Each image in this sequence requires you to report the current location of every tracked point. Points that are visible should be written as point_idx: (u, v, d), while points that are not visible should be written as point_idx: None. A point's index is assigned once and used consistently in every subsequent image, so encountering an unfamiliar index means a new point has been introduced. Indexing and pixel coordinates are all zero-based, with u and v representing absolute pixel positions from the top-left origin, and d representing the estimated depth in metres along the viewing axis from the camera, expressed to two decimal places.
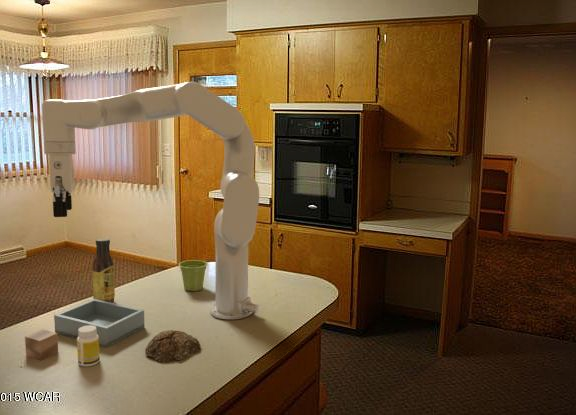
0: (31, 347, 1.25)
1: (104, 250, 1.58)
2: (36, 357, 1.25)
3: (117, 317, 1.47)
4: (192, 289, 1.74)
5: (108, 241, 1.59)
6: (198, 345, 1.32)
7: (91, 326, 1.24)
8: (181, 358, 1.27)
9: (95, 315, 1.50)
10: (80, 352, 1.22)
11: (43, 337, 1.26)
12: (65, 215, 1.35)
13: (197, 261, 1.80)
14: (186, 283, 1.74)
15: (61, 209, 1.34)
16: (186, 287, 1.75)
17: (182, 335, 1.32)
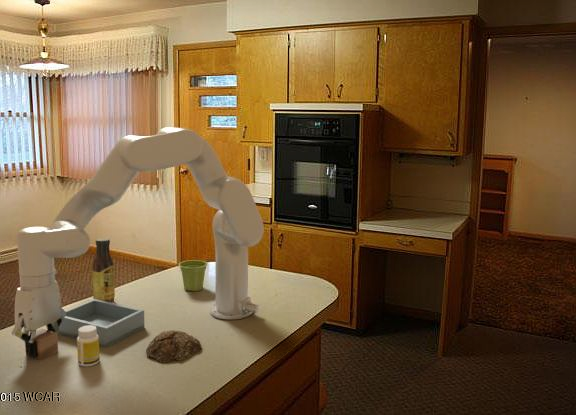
0: None
1: (104, 250, 1.58)
2: (36, 357, 1.25)
3: (117, 317, 1.47)
4: (192, 289, 1.74)
5: (108, 241, 1.59)
6: (199, 346, 1.32)
7: (91, 326, 1.24)
8: (182, 359, 1.27)
9: (95, 315, 1.50)
10: (80, 352, 1.22)
11: (43, 337, 1.26)
12: None
13: (197, 261, 1.80)
14: (186, 283, 1.74)
15: None
16: (186, 287, 1.75)
17: (183, 335, 1.32)
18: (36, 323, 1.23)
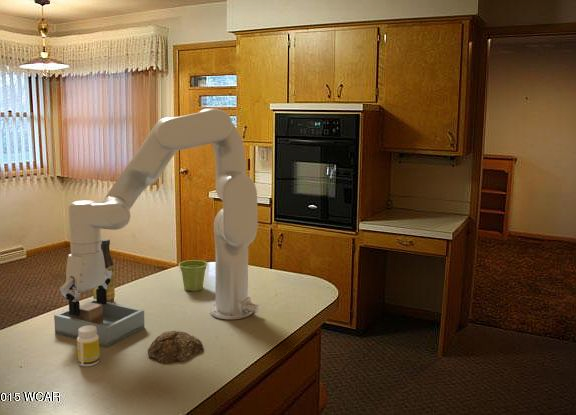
0: (81, 317, 1.41)
1: (105, 250, 1.58)
2: None
3: (117, 317, 1.47)
4: (192, 289, 1.74)
5: (108, 241, 1.59)
6: (201, 346, 1.32)
7: (91, 326, 1.24)
8: (184, 359, 1.26)
9: None
10: (80, 352, 1.22)
11: (91, 308, 1.42)
12: None
13: (197, 261, 1.80)
14: (186, 283, 1.74)
15: None
16: (186, 287, 1.75)
17: (185, 336, 1.32)
18: (85, 286, 1.38)
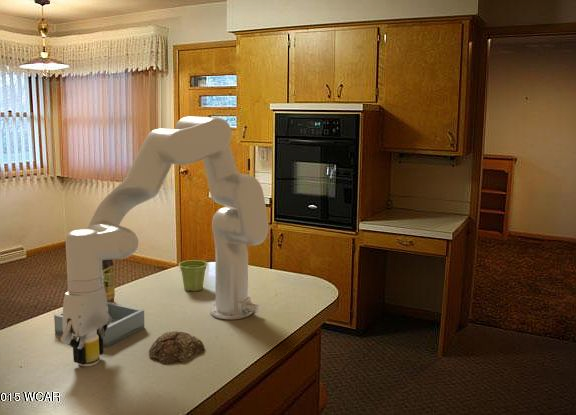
0: None
1: None
2: None
3: (117, 317, 1.47)
4: (192, 289, 1.74)
5: None
6: (202, 346, 1.32)
7: None
8: (185, 360, 1.26)
9: None
10: None
11: None
12: None
13: (197, 261, 1.80)
14: (186, 283, 1.74)
15: None
16: (186, 287, 1.75)
17: (186, 336, 1.32)
18: (84, 329, 1.19)
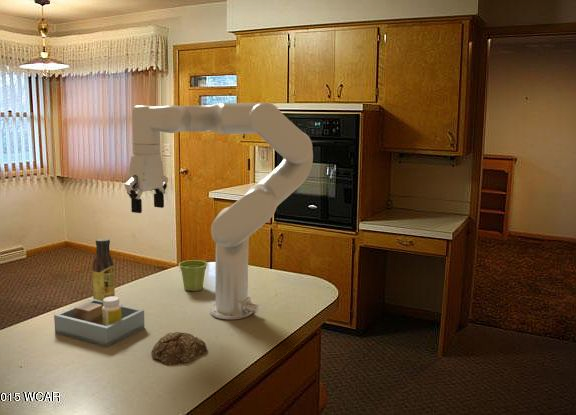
0: (81, 317, 1.41)
1: (104, 250, 1.58)
2: None
3: None
4: (192, 289, 1.74)
5: (108, 241, 1.59)
6: (204, 347, 1.31)
7: (114, 297, 1.41)
8: (187, 360, 1.26)
9: None
10: (106, 319, 1.38)
11: (91, 308, 1.42)
12: None
13: (197, 261, 1.80)
14: (186, 283, 1.74)
15: None
16: (186, 287, 1.75)
17: (188, 337, 1.31)
18: (147, 185, 1.48)
